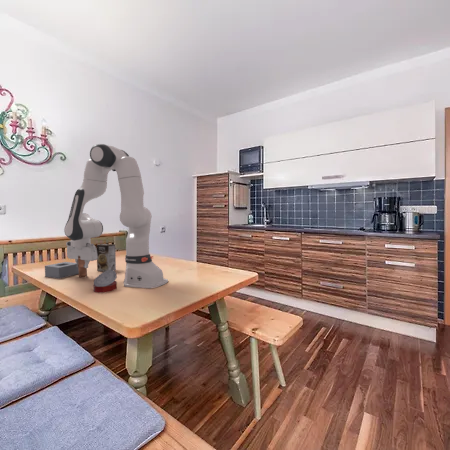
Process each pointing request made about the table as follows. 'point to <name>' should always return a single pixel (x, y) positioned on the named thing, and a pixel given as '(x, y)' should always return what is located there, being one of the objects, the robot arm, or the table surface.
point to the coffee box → (106, 257)
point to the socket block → (61, 270)
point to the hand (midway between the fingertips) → (82, 267)
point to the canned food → (105, 282)
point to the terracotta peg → (82, 268)
